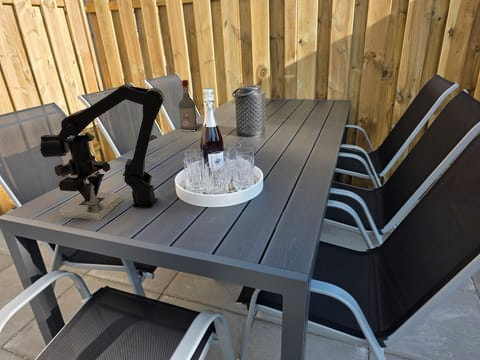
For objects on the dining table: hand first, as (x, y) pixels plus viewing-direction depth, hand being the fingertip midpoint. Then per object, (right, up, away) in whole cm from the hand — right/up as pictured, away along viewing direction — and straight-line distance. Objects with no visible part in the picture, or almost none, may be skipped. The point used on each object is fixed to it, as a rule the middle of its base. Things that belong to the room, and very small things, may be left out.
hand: (91, 198), depth 107 cm
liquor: (+18, +37, +93) cm, 102 cm away
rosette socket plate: (0, -3, +1) cm, 4 cm away
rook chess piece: (0, -3, +1) cm, 3 cm away
